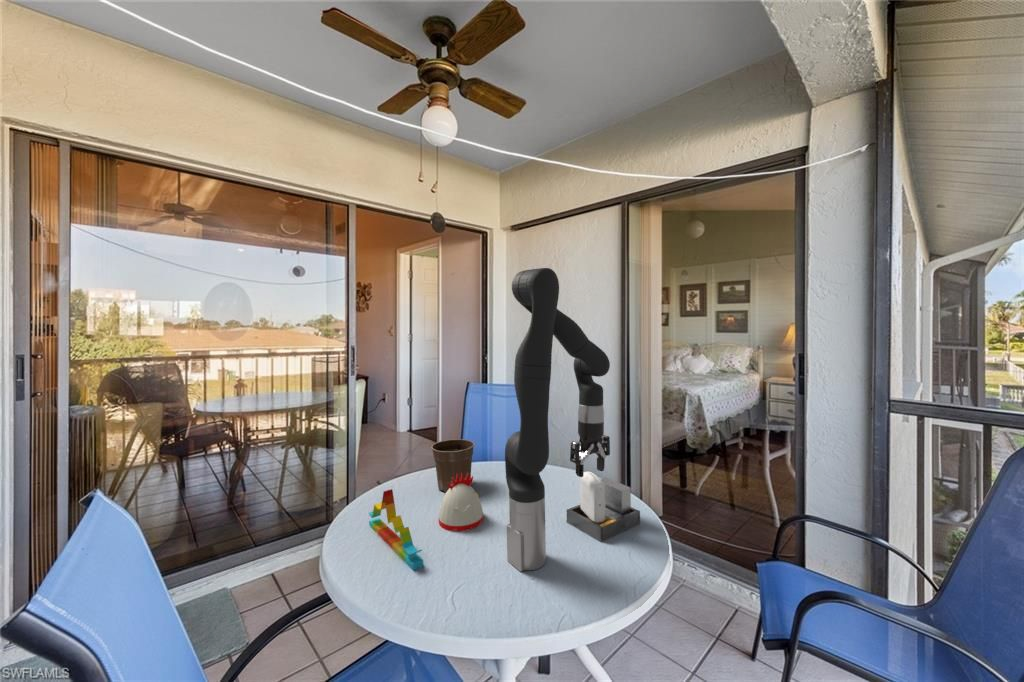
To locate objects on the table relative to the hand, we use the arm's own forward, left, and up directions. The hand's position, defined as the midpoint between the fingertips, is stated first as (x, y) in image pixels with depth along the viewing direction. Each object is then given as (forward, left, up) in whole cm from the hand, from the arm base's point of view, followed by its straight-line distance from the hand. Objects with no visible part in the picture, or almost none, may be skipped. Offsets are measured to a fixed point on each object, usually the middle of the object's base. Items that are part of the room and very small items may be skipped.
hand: (590, 473), depth 122 cm
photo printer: (0, 0, -13) cm, 13 cm away
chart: (-51, +27, -17) cm, 60 cm away
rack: (+5, 0, -17) cm, 17 cm away
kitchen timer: (-29, +28, -17) cm, 44 cm away
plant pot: (-19, +53, -17) cm, 59 cm away
